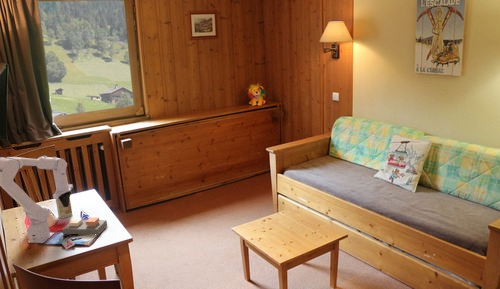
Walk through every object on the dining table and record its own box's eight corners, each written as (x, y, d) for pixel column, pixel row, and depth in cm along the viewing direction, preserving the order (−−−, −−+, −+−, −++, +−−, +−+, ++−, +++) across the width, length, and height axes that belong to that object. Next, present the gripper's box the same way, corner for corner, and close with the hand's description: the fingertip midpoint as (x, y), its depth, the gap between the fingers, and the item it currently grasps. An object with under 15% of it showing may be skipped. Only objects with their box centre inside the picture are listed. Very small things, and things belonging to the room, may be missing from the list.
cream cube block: (78, 231, 209) (77, 223, 207) (70, 231, 209) (68, 222, 208) (83, 227, 213) (82, 218, 212) (75, 227, 214) (73, 218, 212)
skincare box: (61, 219, 225) (56, 197, 222) (58, 216, 228) (54, 195, 225) (73, 215, 229) (69, 193, 226) (70, 212, 232) (66, 191, 229)
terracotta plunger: (95, 230, 207) (94, 221, 206) (87, 230, 208) (85, 221, 207) (100, 226, 212) (98, 217, 210) (91, 226, 212) (90, 217, 211)
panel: (97, 235, 205) (96, 229, 204) (63, 234, 207) (62, 229, 206) (107, 225, 214) (106, 220, 213) (74, 225, 217) (73, 219, 216)
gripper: (60, 186, 204) (65, 212, 208) (76, 176, 218) (80, 200, 222) (47, 186, 205) (52, 212, 209) (63, 176, 219) (68, 200, 223)
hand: (66, 206), depth 215 cm, fingers closed
